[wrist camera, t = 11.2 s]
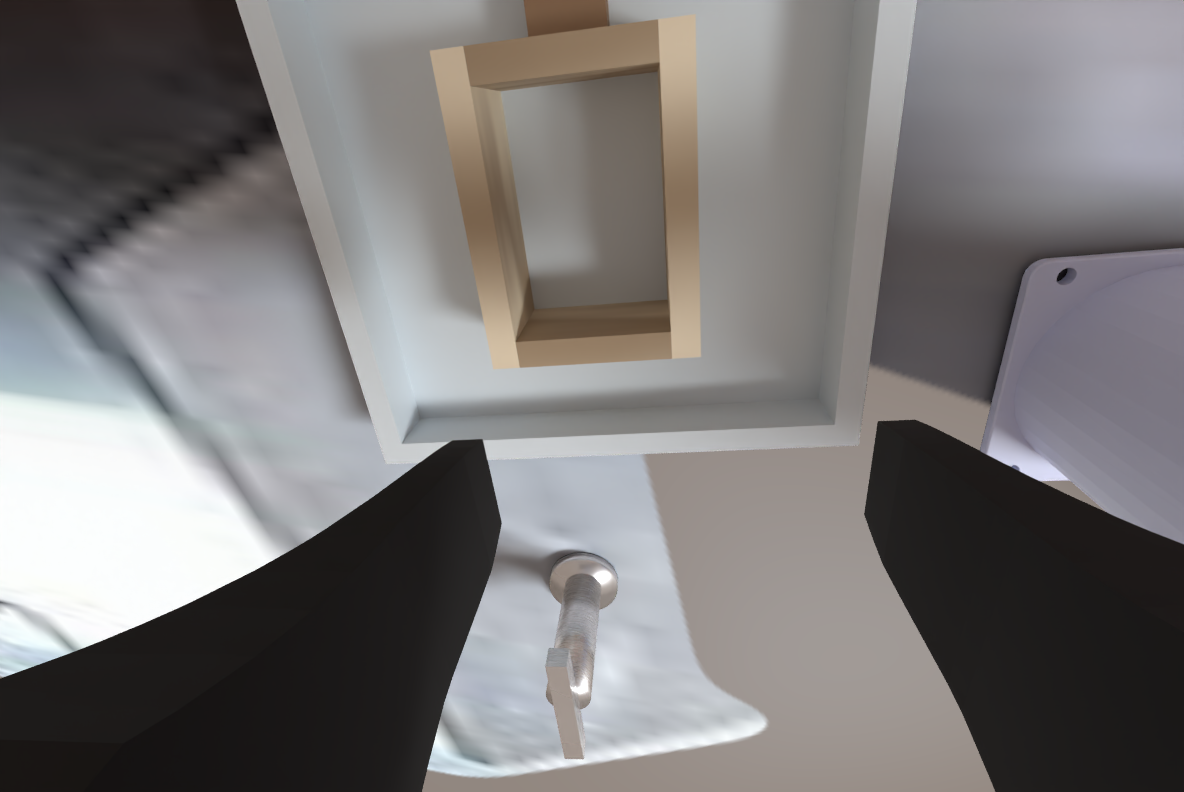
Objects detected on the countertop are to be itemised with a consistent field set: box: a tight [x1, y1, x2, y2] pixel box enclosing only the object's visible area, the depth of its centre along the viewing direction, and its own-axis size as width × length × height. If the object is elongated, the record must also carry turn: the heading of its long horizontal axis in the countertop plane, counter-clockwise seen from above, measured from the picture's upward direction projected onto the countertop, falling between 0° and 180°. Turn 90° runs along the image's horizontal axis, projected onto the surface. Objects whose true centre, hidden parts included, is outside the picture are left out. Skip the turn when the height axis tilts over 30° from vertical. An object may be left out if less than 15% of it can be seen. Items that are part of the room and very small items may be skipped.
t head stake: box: [545, 553, 618, 759], centre depth 22 cm, size 3×5×6 cm, turn 6°
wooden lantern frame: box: [430, 0, 701, 369], centre depth 15 cm, size 10×6×3 cm, turn 6°
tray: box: [236, 0, 917, 464], centre depth 16 cm, size 16×16×2 cm
